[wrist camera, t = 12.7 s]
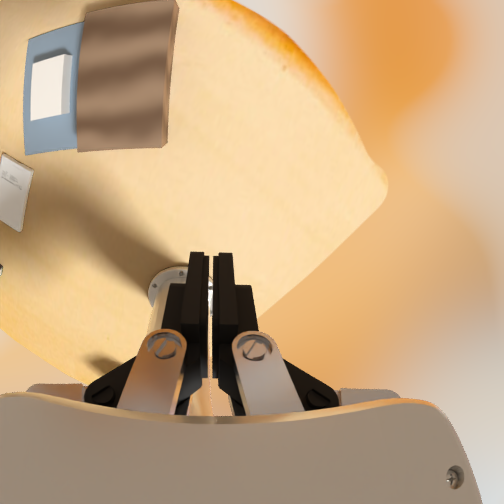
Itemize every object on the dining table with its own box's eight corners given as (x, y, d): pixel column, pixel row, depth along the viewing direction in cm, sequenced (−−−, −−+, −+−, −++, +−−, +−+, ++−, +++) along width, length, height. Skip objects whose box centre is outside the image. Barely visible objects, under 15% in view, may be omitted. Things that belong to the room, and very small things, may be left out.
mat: (89, 146, 33) (88, 147, 33) (26, 155, 31) (25, 155, 31) (97, 18, 23) (96, 18, 23) (29, 39, 21) (28, 39, 21)
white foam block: (30, 121, 27) (39, 118, 29) (61, 114, 27) (69, 112, 30) (32, 63, 22) (41, 64, 24) (64, 54, 23) (72, 55, 25)
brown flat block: (167, 142, 35) (161, 147, 31) (89, 146, 33) (77, 152, 30) (179, 8, 25) (174, -1, 21) (97, 18, 23) (86, 12, 20)
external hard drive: (-4, 210, 35) (6, 152, 31) (23, 228, 38) (35, 169, 33) (-8, 214, 34) (0, 154, 29) (19, 232, 37) (30, 172, 32)
